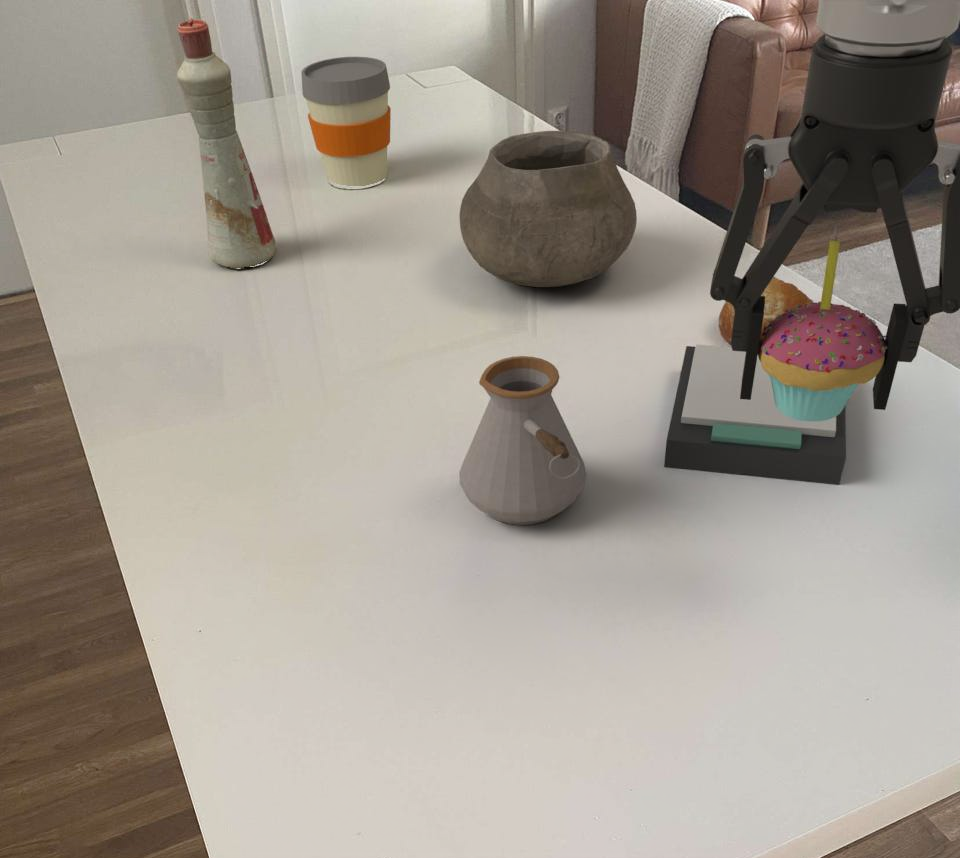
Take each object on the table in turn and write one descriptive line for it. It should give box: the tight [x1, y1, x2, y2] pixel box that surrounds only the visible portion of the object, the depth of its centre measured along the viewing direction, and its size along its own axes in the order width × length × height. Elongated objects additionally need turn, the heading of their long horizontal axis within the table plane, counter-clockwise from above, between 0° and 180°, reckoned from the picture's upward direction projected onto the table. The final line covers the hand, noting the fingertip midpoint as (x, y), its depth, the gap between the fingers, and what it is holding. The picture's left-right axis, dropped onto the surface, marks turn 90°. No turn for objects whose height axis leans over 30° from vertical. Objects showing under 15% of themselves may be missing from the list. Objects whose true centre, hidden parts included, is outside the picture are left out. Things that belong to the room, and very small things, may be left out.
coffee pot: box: [459, 355, 587, 526], centre depth 84 cm, size 21×12×15 cm, turn 11°
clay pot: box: [459, 130, 638, 288], centre depth 121 cm, size 22×21×15 cm
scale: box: [663, 344, 847, 485], centre depth 99 cm, size 16×18×4 cm
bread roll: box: [718, 276, 814, 345], centre depth 112 cm, size 10×10×8 cm
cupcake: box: [758, 226, 887, 422], centre depth 69 cm, size 9×8×12 cm
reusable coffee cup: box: [301, 56, 391, 186], centre depth 147 cm, size 13×13×15 cm
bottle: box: [176, 17, 277, 269], centre depth 124 cm, size 9×9×28 cm
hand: (811, 394), depth 72 cm, fingers closed on cupcake, 8 cm apart
